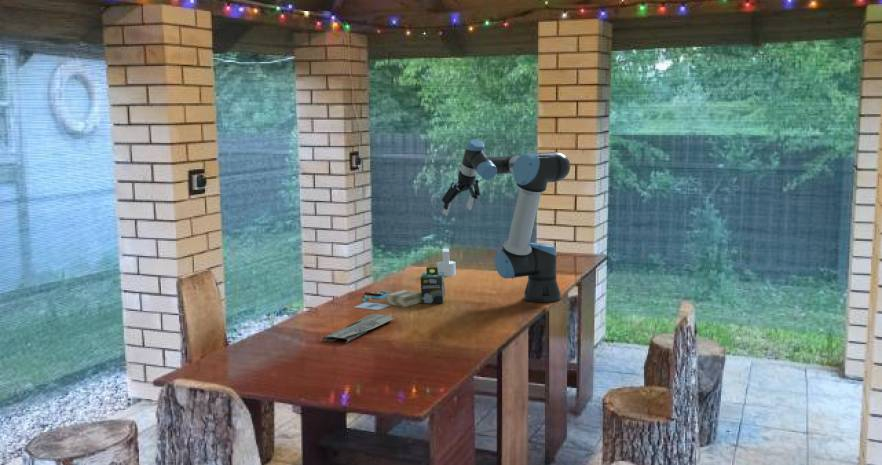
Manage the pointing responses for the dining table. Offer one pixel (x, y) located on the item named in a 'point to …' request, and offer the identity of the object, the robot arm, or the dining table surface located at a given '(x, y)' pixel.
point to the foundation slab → (404, 298)
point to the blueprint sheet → (372, 306)
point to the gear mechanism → (375, 295)
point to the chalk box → (432, 286)
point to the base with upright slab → (447, 265)
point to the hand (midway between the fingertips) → (457, 211)
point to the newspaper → (358, 328)
